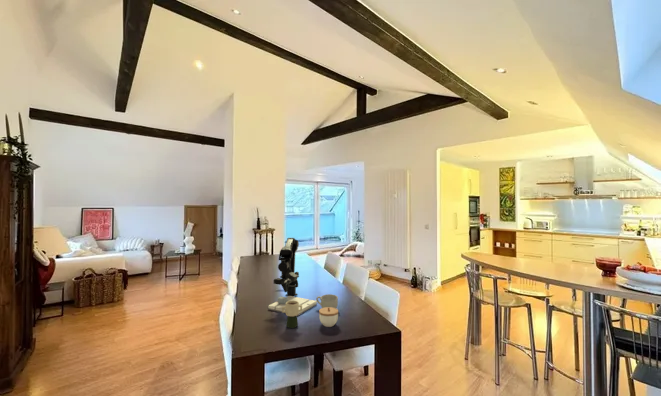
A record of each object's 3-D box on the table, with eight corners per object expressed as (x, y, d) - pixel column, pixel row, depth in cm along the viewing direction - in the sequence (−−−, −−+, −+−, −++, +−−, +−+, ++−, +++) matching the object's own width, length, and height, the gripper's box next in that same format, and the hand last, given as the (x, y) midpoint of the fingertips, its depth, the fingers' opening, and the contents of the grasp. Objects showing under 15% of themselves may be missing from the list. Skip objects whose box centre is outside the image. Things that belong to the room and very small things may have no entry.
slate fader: (281, 303, 192) (281, 296, 192) (287, 304, 190) (287, 297, 190) (277, 305, 189) (277, 298, 189) (283, 306, 186) (283, 299, 186)
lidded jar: (314, 325, 162) (314, 307, 162) (327, 319, 170) (327, 302, 170) (329, 330, 155) (329, 312, 155) (342, 324, 163) (342, 307, 163)
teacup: (340, 308, 187) (340, 295, 187) (332, 314, 177) (332, 300, 178) (321, 304, 194) (321, 292, 194) (313, 310, 184) (313, 297, 184)
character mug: (300, 323, 164) (300, 299, 164) (303, 328, 157) (303, 303, 157) (281, 325, 161) (281, 301, 161) (282, 330, 154) (282, 305, 154)
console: (289, 299, 204) (289, 295, 204) (316, 304, 194) (316, 300, 194) (268, 309, 185) (268, 305, 185) (297, 315, 174) (297, 311, 174)
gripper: (287, 272, 180) (287, 298, 180) (304, 266, 197) (303, 290, 196) (272, 270, 186) (272, 295, 185) (290, 264, 202) (290, 287, 202)
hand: (285, 292), depth 192 cm, fingers closed
